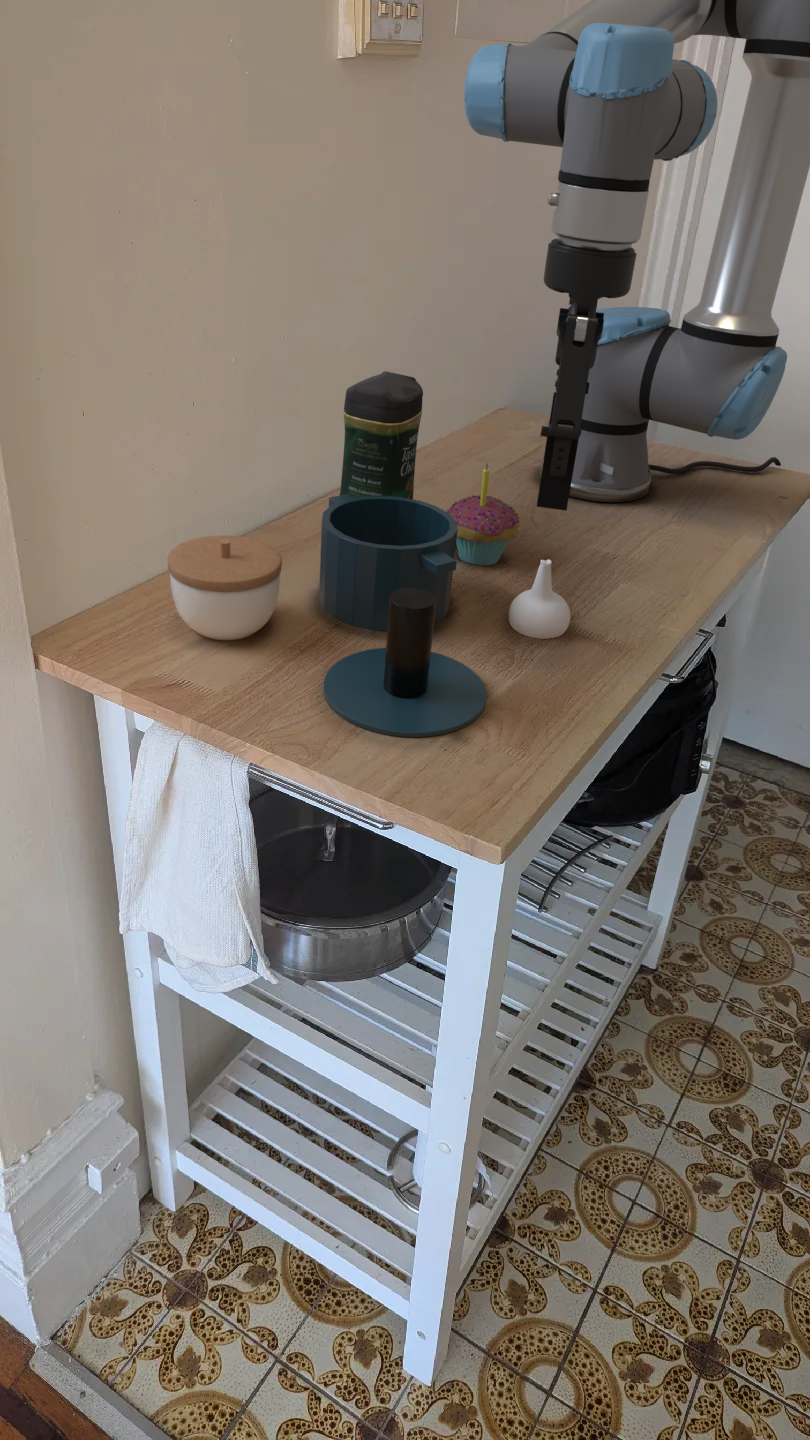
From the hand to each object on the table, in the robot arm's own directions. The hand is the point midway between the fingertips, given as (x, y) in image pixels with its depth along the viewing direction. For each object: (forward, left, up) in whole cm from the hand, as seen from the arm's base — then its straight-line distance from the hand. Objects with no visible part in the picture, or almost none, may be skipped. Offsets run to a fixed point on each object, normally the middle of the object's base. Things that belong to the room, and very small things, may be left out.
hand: (554, 482), depth 101 cm
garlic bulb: (-1, 0, -16) cm, 16 cm away
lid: (+19, +4, -15) cm, 25 cm away
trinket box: (+27, -15, -16) cm, 35 cm away
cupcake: (-7, -17, -16) cm, 24 cm away
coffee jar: (0, -28, -16) cm, 32 cm away
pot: (+10, -12, -16) cm, 22 cm away
